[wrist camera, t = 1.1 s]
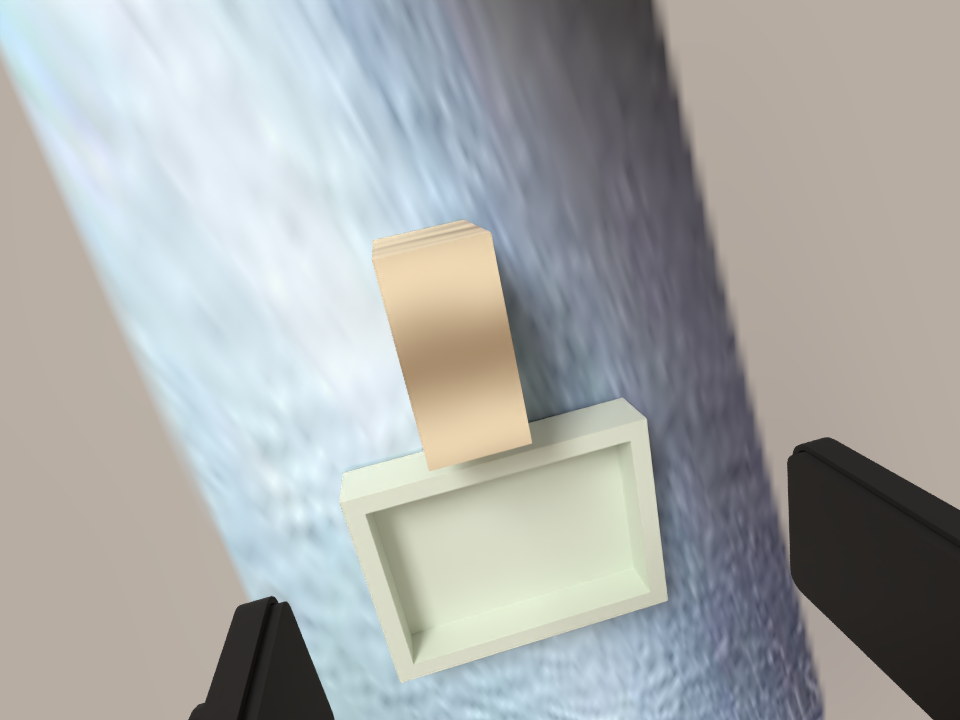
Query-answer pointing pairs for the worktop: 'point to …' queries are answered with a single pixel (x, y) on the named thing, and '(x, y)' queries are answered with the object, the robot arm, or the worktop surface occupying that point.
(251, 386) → the worktop surface
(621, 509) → the tray
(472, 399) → the block
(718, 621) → the worktop surface
